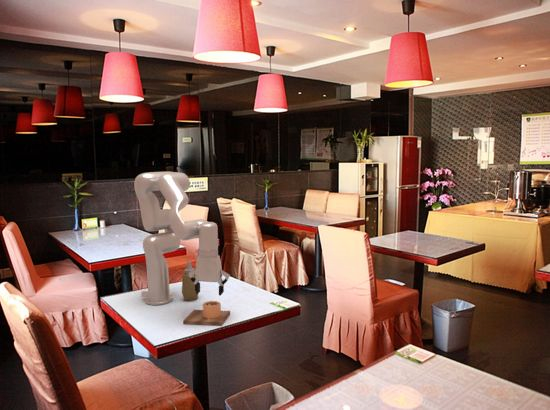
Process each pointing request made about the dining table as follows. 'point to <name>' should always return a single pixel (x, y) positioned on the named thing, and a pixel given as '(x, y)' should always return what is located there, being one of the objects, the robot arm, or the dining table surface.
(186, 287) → the squeeze bottle
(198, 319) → the hub board
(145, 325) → the dining table surface
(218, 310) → the terracotta pot
